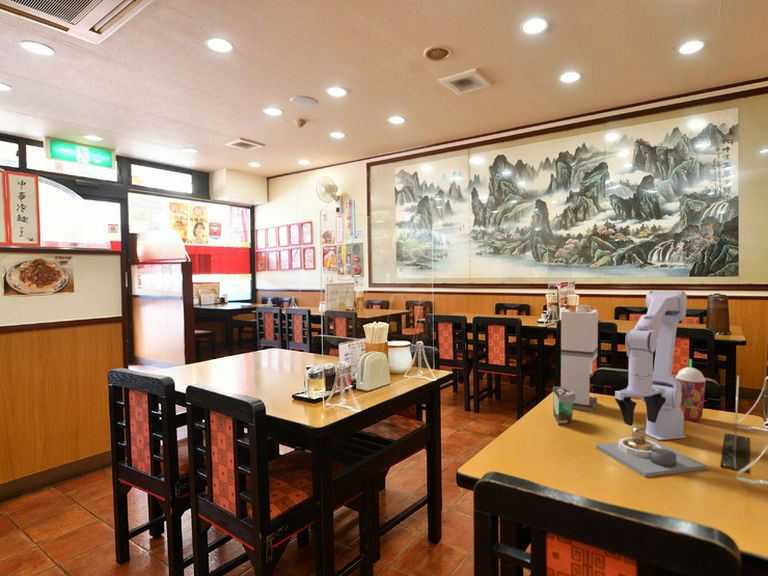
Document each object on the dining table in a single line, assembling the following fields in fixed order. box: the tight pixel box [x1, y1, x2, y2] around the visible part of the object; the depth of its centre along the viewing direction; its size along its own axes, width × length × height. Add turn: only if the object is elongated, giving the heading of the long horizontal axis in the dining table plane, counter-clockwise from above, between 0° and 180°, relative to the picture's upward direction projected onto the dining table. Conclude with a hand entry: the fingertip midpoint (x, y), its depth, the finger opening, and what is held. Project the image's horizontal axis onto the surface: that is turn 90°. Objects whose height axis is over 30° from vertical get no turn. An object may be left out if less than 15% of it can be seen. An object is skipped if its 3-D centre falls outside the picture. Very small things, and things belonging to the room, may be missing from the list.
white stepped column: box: [560, 308, 599, 412], centre depth 165 cm, size 11×11×35 cm
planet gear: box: [625, 425, 653, 451], centre depth 123 cm, size 6×6×6 cm
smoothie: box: [675, 358, 707, 422], centre depth 149 cm, size 8×8×20 cm
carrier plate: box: [595, 437, 708, 478], centre depth 120 cm, size 18×18×4 cm
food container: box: [552, 386, 576, 426], centre depth 149 cm, size 12×6×10 cm, turn 168°
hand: (640, 423), depth 122 cm, fingers open, 7 cm apart
